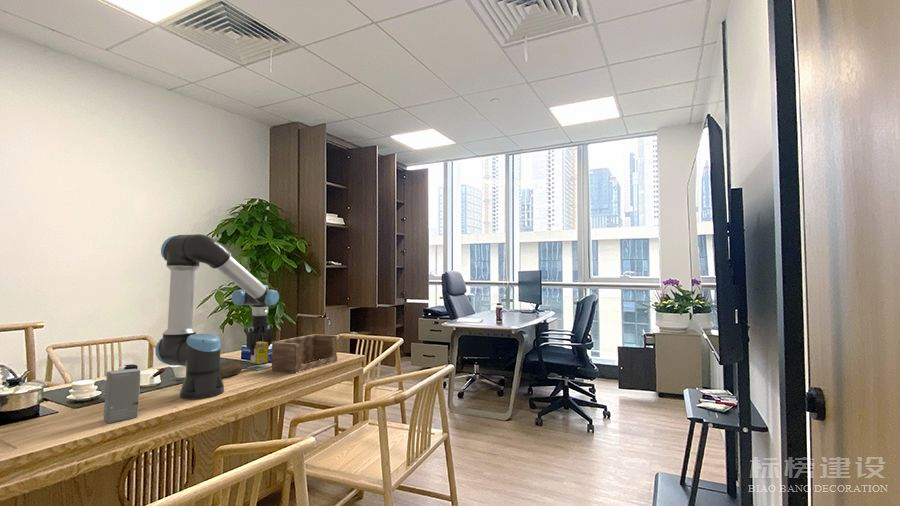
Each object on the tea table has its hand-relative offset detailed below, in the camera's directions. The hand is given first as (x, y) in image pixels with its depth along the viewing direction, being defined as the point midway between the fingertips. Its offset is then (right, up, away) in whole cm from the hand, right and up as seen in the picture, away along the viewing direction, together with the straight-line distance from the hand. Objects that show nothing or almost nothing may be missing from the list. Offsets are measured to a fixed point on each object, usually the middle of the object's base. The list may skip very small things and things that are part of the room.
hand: (259, 360), depth 210 cm
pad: (0, -4, 0) cm, 4 cm away
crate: (+22, -4, +6) cm, 23 cm away
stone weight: (-8, -4, -18) cm, 20 cm away
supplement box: (0, -2, 0) cm, 2 cm away
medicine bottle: (-30, -2, -48) cm, 56 cm away
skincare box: (-12, -1, -73) cm, 74 cm away
